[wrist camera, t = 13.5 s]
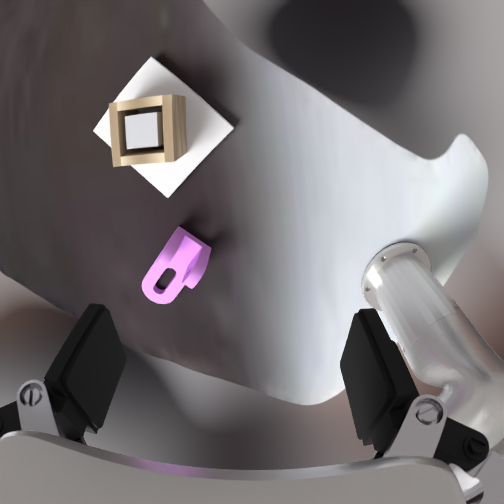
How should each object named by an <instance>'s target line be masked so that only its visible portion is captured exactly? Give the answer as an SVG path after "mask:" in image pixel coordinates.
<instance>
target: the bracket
mask: <svg viewBox="0 0 504 504" xmlns="http://www.w3.org/2000/svg"><path fill="white" fill-rule="evenodd" d="M211 249H212V248H211V247H209V246H208V245H206V244H205V243H203V242H202V241H200V240H199V239H197V238H196V237H194V236H193V235H191V234H190V233H188V232H187V231H186V230H184V229H183V228H181V227H180V226H178V228H177V229H176V231H175V232H174V233H173V235H172V236H171V238H170V239H169V241H168V242H167V244H166V245H165V247H164V248H163V250H162V251H161V253H160V254H159V256H158V257H157V259H156V260H155V262H154V264H153V265H152V267H151V268H150V270H149V271H148V273H147V274H146V276H145V278H144V280H143V282H142V289H143V292H144V294H145V295H146V296H147V297H148V298H149V299H150V300H151V301H153V302H156V303H159V304H166V303H170V302H171V301H173V300H174V299H175V297H176V296H177V295H178V293H179V292H180V291H181V289H182V288H183V287H184V286H185V285H186V286H188V287H190V288H191V289H192V288H193V287H194V286H195V285H196V284H197V283H198V282H199V280H200V279H201V277H202V275H203V274H204V272H205V270H206V267H207V263H208V260H209V256H210V253H211ZM166 268H173V269H174V270H175V271H176V275H175V276H174V278H173V279H172V280H171V282H170V283H169V284H168V286H167V287H166V288H165V289H163V290H161V289H158V288H157V287H156V285H155V284H156V282H157V281H158V279H159V278H160V276H161V275H162V273H163V272H164V270H165V269H166Z"/></svg>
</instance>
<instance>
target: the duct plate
mask: <svg viewBox="0 0 504 504" xmlns="http://www.w3.org/2000/svg"><path fill="white" fill-rule="evenodd" d="M169 94H174V95H180V96H185V97H186V139H187V153H186V154H185V155H183V156H182V157H181V158H179V159H178V160H176V161H175V162H164V163H149V164H137V165H131V166H132V167H134V168H135V169H136V170H137V171H138V172H139V173H140V174H141V175H142V176H144V177H145V178H146V179H147V180H148V181H149V182H150V183H151V184H153V185H154V186H155V187H156V188H157V189H158V190H159V191H160V192H162V193H163V194H164V195H165V196H166V197H167V198H169V196H170V195H171V194H172V193H173V192H174V191H175V190H176V189H177V187H178V186H179V185H180V184H181V183H182V182H183V181H184V180H185V179H186V177H187V176H188V175H189V174H190V173H191V172H192V171H193V170H194V169H195V168H196V167H197V166H198V164H199V163H200V162H201V161H202V160H203V159H204V158H205V157H206V156H207V155H208V154H209V153H210V152H211V151H212V150H213V149H214V148H215V147H216V146H217V145H218V144H219V143H220V142H221V141H222V140H223V139H224V138H225V137H226V136H227V135H228V134H229V133H230V132H231V131H232V130H233V129H234V127H233V126H232V125H231V124H230V123H229V122H228V121H227V120H226V119H224V118H223V117H222V116H221V115H220V114H219V113H218V112H217V111H216V110H215V109H213V108H212V107H211V106H210V105H209V104H208V103H207V102H206V101H205V100H203V99H202V98H201V97H200V96H199V95H198V94H197V93H195V92H194V91H193V90H192V89H191V88H190V87H188V86H187V85H186V84H185V83H184V82H183V81H181V80H180V79H179V78H178V77H177V76H175V75H174V74H173V73H172V72H171V71H169V70H168V69H167V68H166V67H164V66H163V65H162V64H161V63H159V62H158V61H157V60H156V59H154V58H152V57H151V58H150V59H149V60H148V61H147V62H146V63H145V64H144V65H143V66H142V68H141V69H140V70H139V71H138V72H137V73H136V75H135V76H134V77H133V78H132V79H131V81H130V82H129V83H128V84H127V86H126V87H125V88H124V89H123V91H122V92H121V93H120V94H119V96H118V97H117V98H116V100H115V101H114V102H113V103H115V102H120V101H126V100H132V99H138V98H145V97H152V96H160V95H169ZM138 112H139V114H138V115H131V116H125V128H126V143H127V149H133V148H140V149H141V148H151V147H163V146H164V138H163V113H162V107H155V108H147V109H140V110H138ZM94 132H95V133H96V134H97V135H98V136H99V137H100V138H102V139H103V140H104V141H105V142H106V143H107V144H108V145H109V146H110V147H111V135H110V118H109V109H108V110H107V112H106V113H105V115H104V116H103V117H102V119H101V120H100V122H99V123H98V125H97V126H96V128H95V129H94Z"/></svg>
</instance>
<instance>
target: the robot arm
mask: <svg viewBox="0 0 504 504" xmlns="http://www.w3.org/2000/svg"><path fill="white" fill-rule="evenodd" d="M362 293H363V295H364V298H365V300H366V301H367V303H368V304H369V305H370V306H371V307H373V308H370V309H360V310H359V312H358V313H355V314H354V317H353V320H352V324H351V328H350V331H349V335H348V338H347V341H346V345H345V348H344V351H343V354H342V358H341V361H340V368H341V373H342V376H343V380H344V384H345V388H346V392H347V395H348V399H349V403H350V407H351V411H352V416H353V420H354V424H355V428H356V432H357V436H358V439H360V440H361V439H362V440H363V445H364V446H365V445H370V444H373V445H374V449H375V450H376V452H375V454H374V455H373V457H372V459H371V460H365V461H360V462H353V463H347V464H340V465H331V466H322V467H313V468H301V469H286V470H227V469H211V468H200V467H189V466H182V465H174V464H167V463H161V462H155V461H149V460H144V459H139V458H135V457H130V456H125V455H121V454H117V453H113V452H109V451H106V450H102V449H98V448H94V447H91V446H88V445H87V444H86V441H85V439H84V436H83V435H84V432H85V431H87V432H90V433H94V434H97V431H98V428H101V427H102V426H103V423H104V420H105V417H106V414H107V411H108V409H109V406H110V403H111V401H112V398H113V395H114V392H115V390H116V387H117V384H118V382H119V379H120V377H121V374H122V371H123V369H124V366H125V364H126V354H125V352H124V349H123V347H122V344H121V342H120V339H119V336H118V334H117V331H116V328H115V325H114V323H113V320H112V317H111V314H110V311H109V310H108V309H107V308H106V307H105V306H104V305H102V304H92V303H91V304H89V305H88V307H87V308H86V310H85V311H84V313H83V314H82V316H81V317H80V319H79V321H78V322H77V324H76V325H75V327H74V328H73V330H72V331H71V333H70V335H69V336H68V338H67V340H66V341H65V343H64V344H63V346H62V348H61V350H60V351H59V353H58V354H57V356H56V358H55V360H54V361H53V363H52V365H51V366H50V368H49V370H48V372H47V374H46V376H45V377H44V379H45V381H44V383H42V382H41V381H39V380H30V381H28V382H26V383H24V384H23V385H22V386H21V387H20V389H19V390H18V393H17V401H15V402H13V403H10V404H8V405H6V406H4V407H1V408H0V504H504V362H503V361H502V359H500V357H498V355H497V354H496V353H495V352H494V351H493V349H492V348H491V347H490V346H489V345H488V344H487V343H486V341H485V340H484V339H483V337H482V336H481V335H480V334H479V332H478V331H477V330H476V328H475V327H474V326H473V324H472V323H471V322H470V320H469V319H468V318H467V317H466V315H465V314H464V313H463V311H462V310H461V309H460V307H459V306H458V305H457V304H456V302H455V301H454V300H453V299H452V298H451V296H450V295H449V294H448V292H447V291H446V290H445V289H444V288H443V286H442V285H441V284H440V283H439V282H438V280H437V279H436V278H435V277H434V276H433V274H432V273H431V263H430V259H429V257H428V255H427V254H426V252H425V251H424V250H423V249H422V248H421V247H419V246H418V245H416V244H413V243H407V242H403V243H397V244H394V245H391V246H389V247H387V248H385V249H383V250H382V251H381V252H380V253H378V254H377V255H376V256H375V257H374V258H373V259H372V260H371V262H370V263H369V265H368V266H367V268H366V270H365V272H364V275H363V278H362ZM376 309H377V310H379V311H383V313H384V315H385V317H386V319H387V321H388V323H389V324H390V326H391V328H392V330H393V332H394V334H395V336H396V338H397V340H398V342H399V344H400V346H401V348H402V350H403V352H404V355H405V357H406V358H407V361H408V363H409V365H410V367H411V369H412V371H413V373H414V374H415V375H416V377H417V378H418V379H420V380H421V381H422V382H425V383H427V384H430V385H433V386H437V387H443V388H444V389H443V391H442V393H441V394H440V395H439V396H438V397H435V396H433V395H421V396H420V395H419V393H418V391H417V388H416V386H415V384H414V382H413V379H412V377H411V375H410V373H409V370H408V368H407V366H406V364H405V362H404V359H403V357H402V355H401V353H400V351H399V349H398V347H397V345H396V343H395V342H394V341H393V340H391V339H390V337H389V335H388V333H387V331H386V329H385V327H384V325H383V323H382V321H381V319H380V317H379V315H378V313H377V311H376Z"/></svg>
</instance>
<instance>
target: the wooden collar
mask: <svg viewBox="0 0 504 504" xmlns="http://www.w3.org/2000/svg"><path fill="white" fill-rule="evenodd" d="M155 107H162V113H163V138H164V146H163V147H151V148H141V149H140V148H133V149H127V143H126V128H125V116H131V115H138V114H139V112H138V110H140V109H147V108H155ZM109 118H110V135H111V148H112V158H113V167H116V166H126V165H137V164H149V163H164V162H175V161H176V160H178V159H179V158H181V157H182V156H183V155H185V154H186V153H187V139H186V97H185V96H180V95H174V94H169V95H160V96H152V97H145V98H138V99H132V100H126V101H120V102H115V103H109Z"/></svg>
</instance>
